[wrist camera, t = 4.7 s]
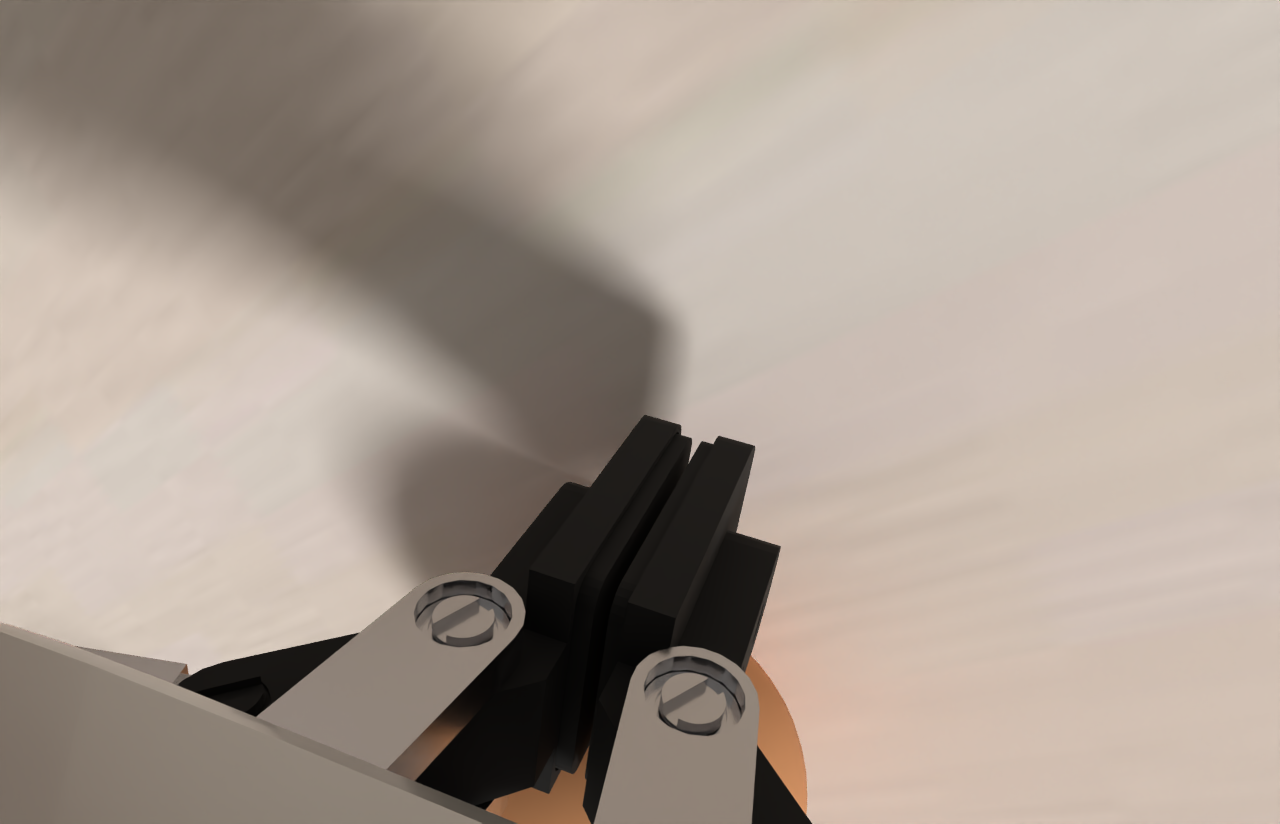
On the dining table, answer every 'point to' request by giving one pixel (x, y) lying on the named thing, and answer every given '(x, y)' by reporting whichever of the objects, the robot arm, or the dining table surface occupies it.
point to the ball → (563, 820)
